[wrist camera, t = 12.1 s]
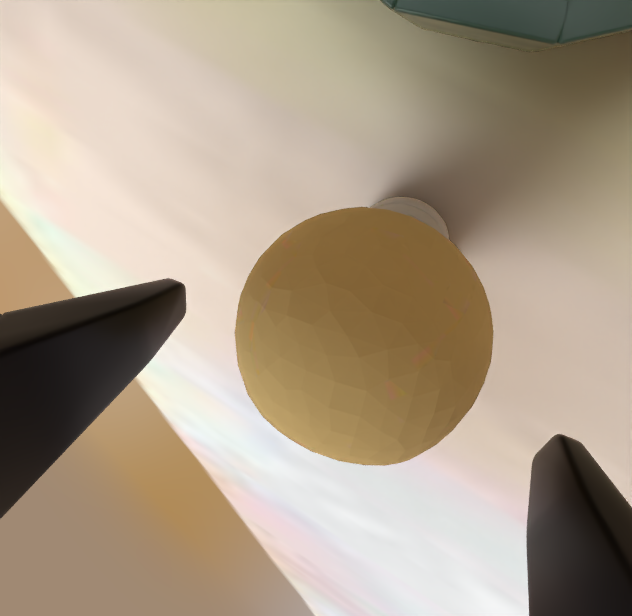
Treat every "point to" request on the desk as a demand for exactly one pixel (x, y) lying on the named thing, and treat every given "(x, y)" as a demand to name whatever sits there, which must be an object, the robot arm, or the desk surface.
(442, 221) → the light bulb
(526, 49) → the tin
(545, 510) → the robot arm
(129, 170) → the desk surface
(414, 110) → the desk surface
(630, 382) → the desk surface
